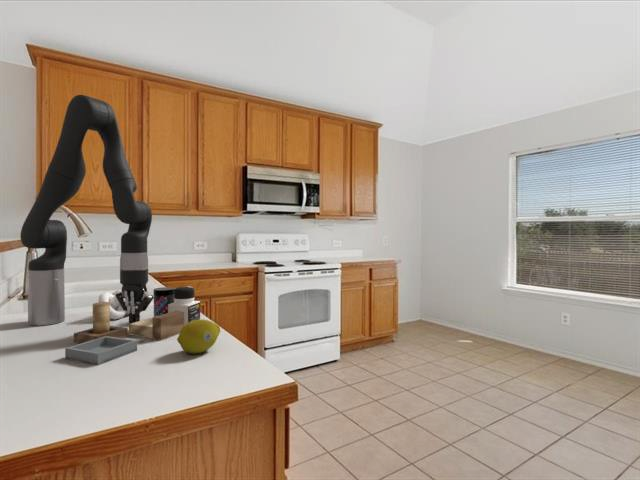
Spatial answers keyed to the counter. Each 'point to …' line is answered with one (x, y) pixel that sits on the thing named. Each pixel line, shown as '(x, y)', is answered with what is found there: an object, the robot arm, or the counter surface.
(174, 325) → the block
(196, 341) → the lemon
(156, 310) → the supplement container
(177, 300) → the medicine bottle
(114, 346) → the tray
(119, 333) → the socket block
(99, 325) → the dowel
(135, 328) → the light wooden block
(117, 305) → the white knot sculpture
